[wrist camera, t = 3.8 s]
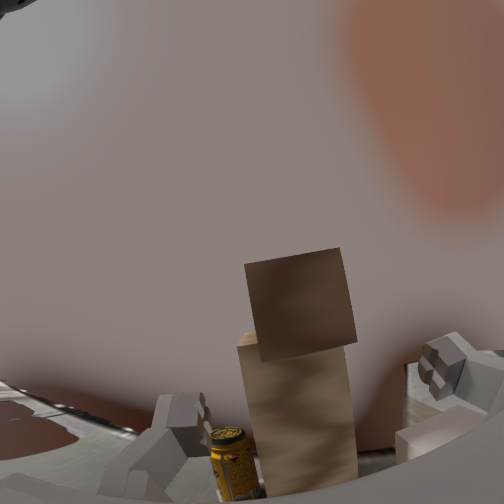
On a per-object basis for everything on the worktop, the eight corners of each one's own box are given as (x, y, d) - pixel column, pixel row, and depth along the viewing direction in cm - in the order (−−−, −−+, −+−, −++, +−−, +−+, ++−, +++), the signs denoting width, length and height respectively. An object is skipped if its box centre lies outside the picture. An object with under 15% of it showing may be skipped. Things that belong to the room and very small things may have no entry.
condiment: (215, 491, 36) (198, 429, 38) (266, 478, 38) (253, 417, 41) (225, 513, 29) (206, 447, 31) (283, 498, 32) (270, 432, 34)
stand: (288, 581, 14) (236, 346, 19) (280, 516, 27) (244, 333, 32) (360, 565, 14) (340, 326, 19) (334, 505, 27) (308, 321, 32)
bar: (261, 367, 11) (243, 264, 12) (258, 333, 31) (252, 294, 32) (358, 346, 11) (339, 247, 12) (296, 326, 31) (289, 287, 32)
